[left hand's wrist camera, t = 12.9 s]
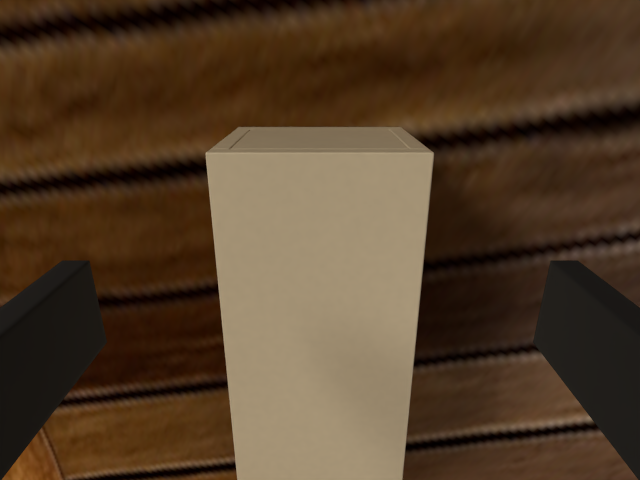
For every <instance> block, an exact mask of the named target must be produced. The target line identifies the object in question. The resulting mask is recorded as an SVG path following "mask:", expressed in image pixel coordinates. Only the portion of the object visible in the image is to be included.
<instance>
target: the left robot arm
mask: <svg viewBox="0 0 640 480" xmlns="http://www.w3.org/2000/svg"><path fill="white" fill-rule="evenodd" d="M106 343H107V340H106V336H105V331H104V327H103V322H102V317H101V313H100V308H99V303H98V299H97V294H96V290H95V285H94V280H93V276H92V271H91V267H90V262H89V261H61V262H60V263H59V264H57V265H56V266H55V267H53V268H52V269H51V270H49V271H48V272H47V273H45V274H44V275H43V276H42V277H40V278H39V279H38V280H36V281H35V282H34V283H32V284H31V285H30V286H28V287H27V288H26V289H24V290H23V291H22V292H21V293H19V294H18V295H17V296H15V297H14V298H13V299H11V300H10V301H9V302H7V303H6V304H5V305H3V306H2V307H1V308H0V480H2V478H3V477H4V476H5V474H6V473H7V472H8V470H9V469H10V468H11V466H12V465H13V464H14V463H15V461H16V460H17V459H18V457H19V456H20V455H21V453H22V452H23V451H24V450H25V448H26V447H27V446H28V444H29V443H30V442H31V440H32V439H33V438H34V437H35V435H36V434H37V433H38V431H39V430H40V429H41V427H42V426H43V425H44V423H45V422H46V421H47V420H48V418H49V417H50V416H51V414H52V413H53V412H54V410H55V409H56V408H57V407H58V405H59V404H60V403H61V401H62V400H63V399H64V397H65V396H66V395H67V394H68V392H69V391H70V390H71V388H72V387H73V386H74V384H75V383H76V382H77V380H78V379H79V378H80V377H81V375H82V374H83V373H84V371H85V370H86V369H87V367H88V366H89V365H90V364H91V362H92V361H93V360H94V358H95V357H96V356H97V354H98V353H99V352H100V351H101V349H102V348H103V347H104V345H105V344H106ZM533 343H534V344H535V345H536V347H537V348H538V349H539V351H540V352H541V353H542V354H543V356H544V357H545V358H546V360H547V361H548V362H549V364H550V365H551V366H552V367H553V369H554V370H555V371H556V373H557V374H558V375H559V377H560V378H561V379H562V380H563V382H564V383H565V384H566V386H567V387H568V388H569V390H570V391H571V392H572V394H573V395H574V396H575V397H576V399H577V400H578V401H579V403H580V404H581V405H582V407H583V408H584V409H585V410H586V412H587V413H588V414H589V416H590V417H591V418H592V420H593V421H594V422H595V423H596V425H597V426H598V427H599V429H600V430H601V431H602V433H603V434H604V435H605V437H606V438H607V439H608V440H609V442H610V443H611V444H612V446H613V447H614V448H615V450H616V451H617V452H618V453H619V455H620V456H621V457H622V459H623V460H624V461H625V463H626V464H627V465H628V466H629V468H630V469H631V470H632V472H633V473H634V474H635V476H636V477H637V478H638V480H640V308H639V307H638V306H637V305H635V304H634V303H633V302H631V301H630V300H629V299H627V298H626V297H625V296H623V295H622V294H621V293H619V292H618V291H617V290H616V289H614V288H613V287H612V286H610V285H609V284H608V283H606V282H605V281H604V280H602V279H601V278H600V277H598V276H597V275H596V274H595V273H593V272H592V271H591V270H589V269H588V268H587V267H585V266H584V265H583V264H581V263H580V262H579V261H551V262H550V267H549V271H548V276H547V280H546V285H545V290H544V294H543V299H542V303H541V308H540V313H539V317H538V322H537V327H536V331H535V336H534V340H533Z"/></svg>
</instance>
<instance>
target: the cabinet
mask: <svg viewBox="0 0 640 480" xmlns="http://www.w3.org/2000/svg"><path fill="white" fill-rule="evenodd" d="M433 160H434V153H433V152H432V151H431V150H429V149H428V148H427V147H426V146H424V145H423V144H422V143H420V142H419V141H418V140H417V139H415V138H414V137H413V136H411V135H410V134H409V133H407V132H406V131H405V130H403V129H402V128H401V127H238V128H237V129H236V130H234V131H233V132H232V133H231V134H229V135H228V136H227V137H225V138H224V139H223V140H222V141H220V142H219V143H218V144H217V145H215V146H214V147H213V148H211V149H210V150H209V151H208V152H206V163H207V174H208V184H209V194H210V204H211V215H212V225H213V235H214V245H215V256H216V266H217V276H218V286H219V296H220V307H221V317H222V327H223V337H224V348H225V358H226V368H227V378H228V389H229V399H230V409H231V419H232V429H233V440H234V450H235V460H236V470H237V480H402V478H403V467H404V457H405V447H406V437H407V426H408V416H409V406H410V396H411V385H412V375H413V365H414V355H415V344H416V334H417V324H418V314H419V303H420V293H421V283H422V273H423V262H424V252H425V242H426V232H427V221H428V211H429V201H430V191H431V180H432V170H433Z"/></svg>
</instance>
